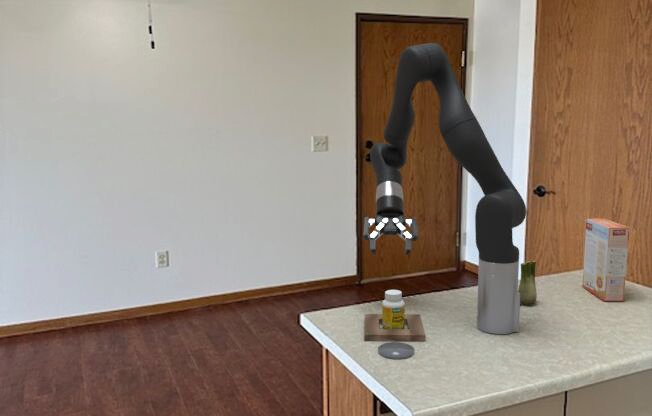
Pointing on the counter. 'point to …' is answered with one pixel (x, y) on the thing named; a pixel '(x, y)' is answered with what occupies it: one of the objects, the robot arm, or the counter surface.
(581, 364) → the counter surface
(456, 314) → the counter surface
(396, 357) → the coaster
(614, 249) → the cracker box
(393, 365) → the counter surface
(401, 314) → the supplement bottle
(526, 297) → the fennel bulb
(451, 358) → the counter surface
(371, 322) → the pocket board
